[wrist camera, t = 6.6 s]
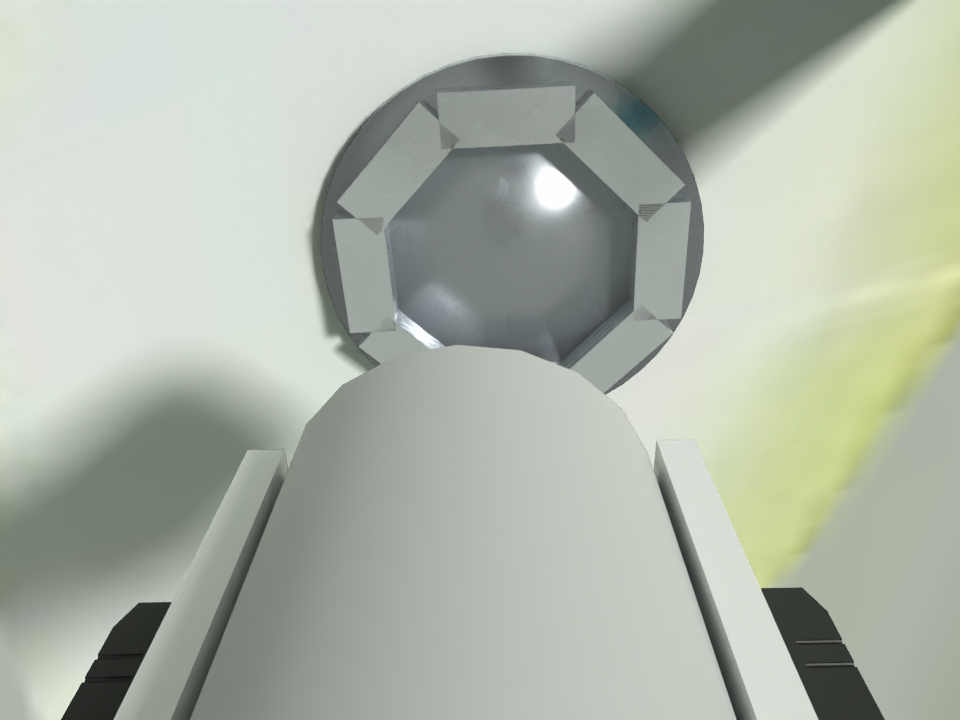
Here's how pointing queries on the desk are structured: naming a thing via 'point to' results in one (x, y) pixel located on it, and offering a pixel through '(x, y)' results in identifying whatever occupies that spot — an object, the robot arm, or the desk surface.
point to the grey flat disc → (514, 220)
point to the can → (467, 560)
